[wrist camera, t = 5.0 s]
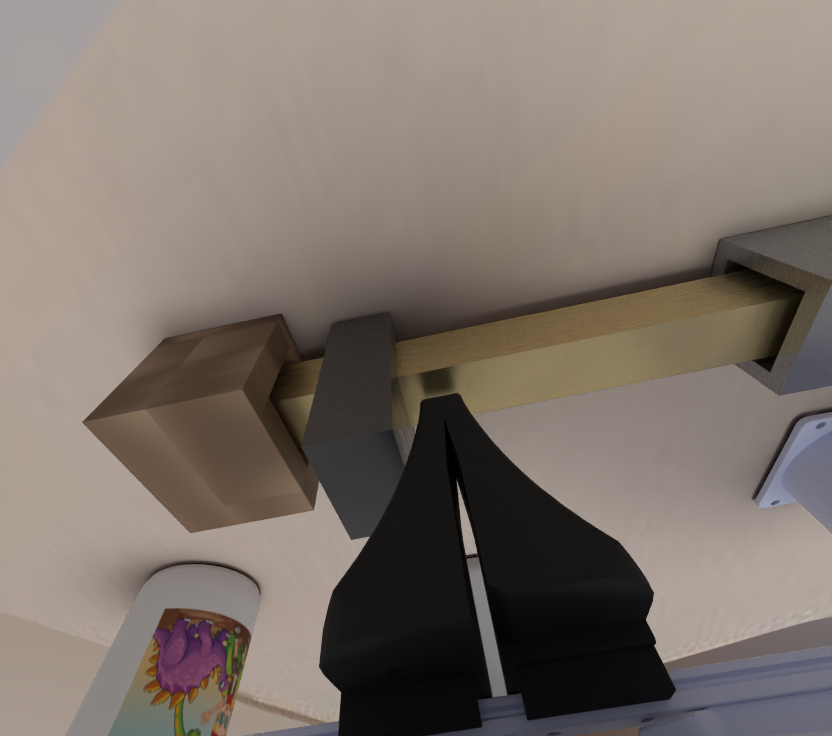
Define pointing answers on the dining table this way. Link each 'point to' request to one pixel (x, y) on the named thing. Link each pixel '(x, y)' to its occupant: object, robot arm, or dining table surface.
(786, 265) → the sleeve
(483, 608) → the flask
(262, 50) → the dining table surface
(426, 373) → the grey-banded wooden bar
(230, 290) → the dining table surface
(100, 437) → the socket
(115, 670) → the milk bottle
